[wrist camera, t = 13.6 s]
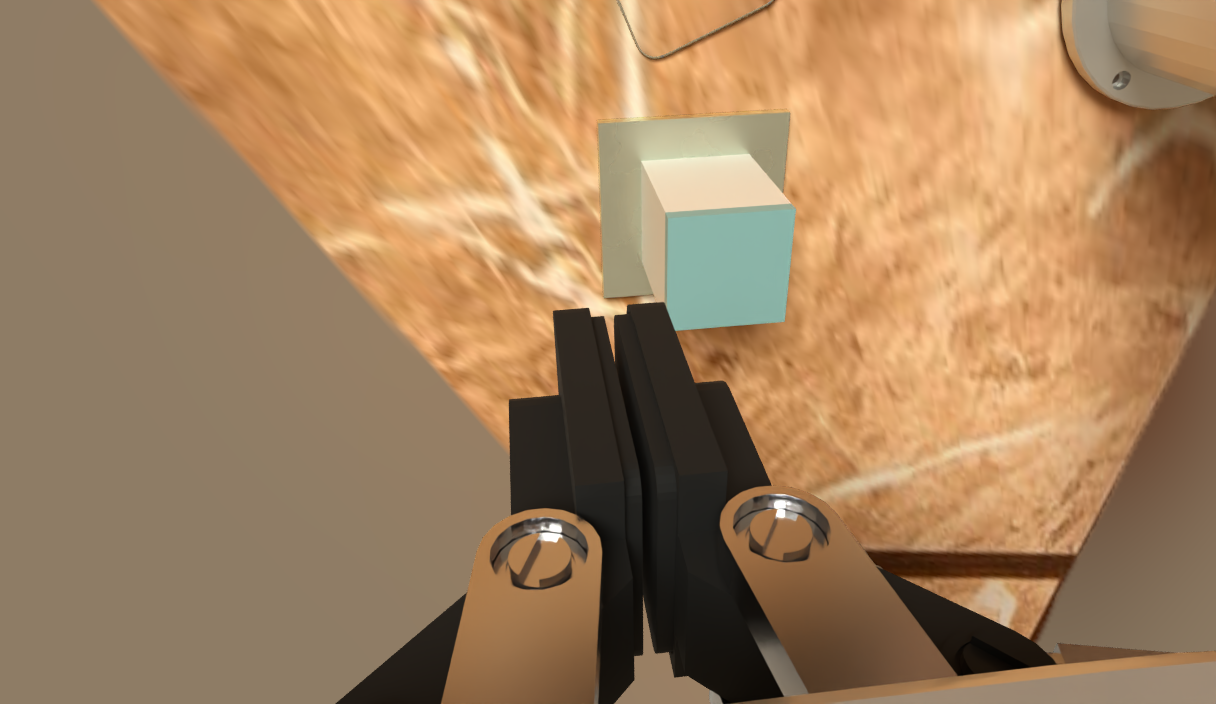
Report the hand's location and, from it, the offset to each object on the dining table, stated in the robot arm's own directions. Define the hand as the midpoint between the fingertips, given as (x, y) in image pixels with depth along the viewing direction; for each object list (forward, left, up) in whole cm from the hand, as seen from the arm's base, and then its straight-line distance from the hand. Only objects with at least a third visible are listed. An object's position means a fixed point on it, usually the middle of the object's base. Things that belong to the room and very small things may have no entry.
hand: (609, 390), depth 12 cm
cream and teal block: (-7, +8, -26) cm, 29 cm away
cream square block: (-7, +8, -27) cm, 29 cm away
